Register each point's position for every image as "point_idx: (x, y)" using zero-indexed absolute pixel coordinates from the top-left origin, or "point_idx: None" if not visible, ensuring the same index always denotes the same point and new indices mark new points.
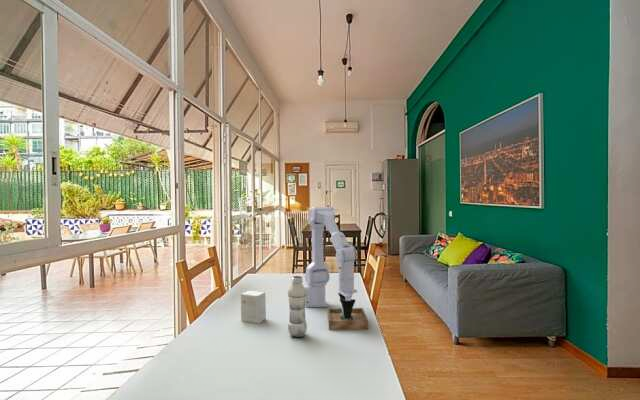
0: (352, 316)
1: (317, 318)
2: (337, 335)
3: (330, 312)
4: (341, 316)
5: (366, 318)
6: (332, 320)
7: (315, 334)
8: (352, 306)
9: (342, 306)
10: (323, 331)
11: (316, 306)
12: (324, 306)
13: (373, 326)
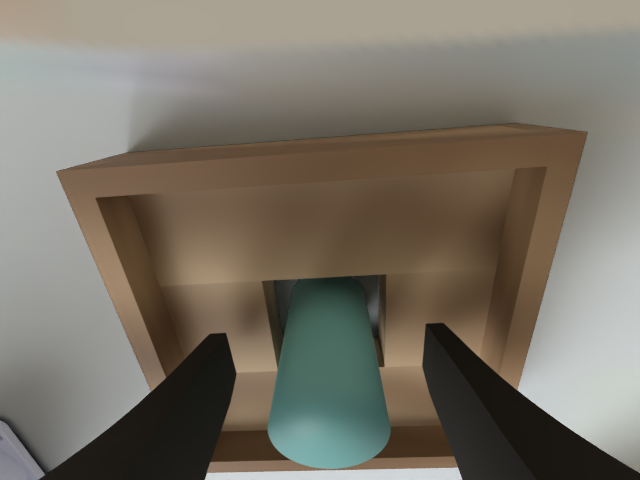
0: (289, 278)
1: None
2: (586, 358)
3: None
4: (277, 357)
5: (511, 146)
6: None
7: None
8: (591, 448)
9: (321, 463)
10: None
11: (36, 469)
12: (10, 432)
13: (445, 48)
